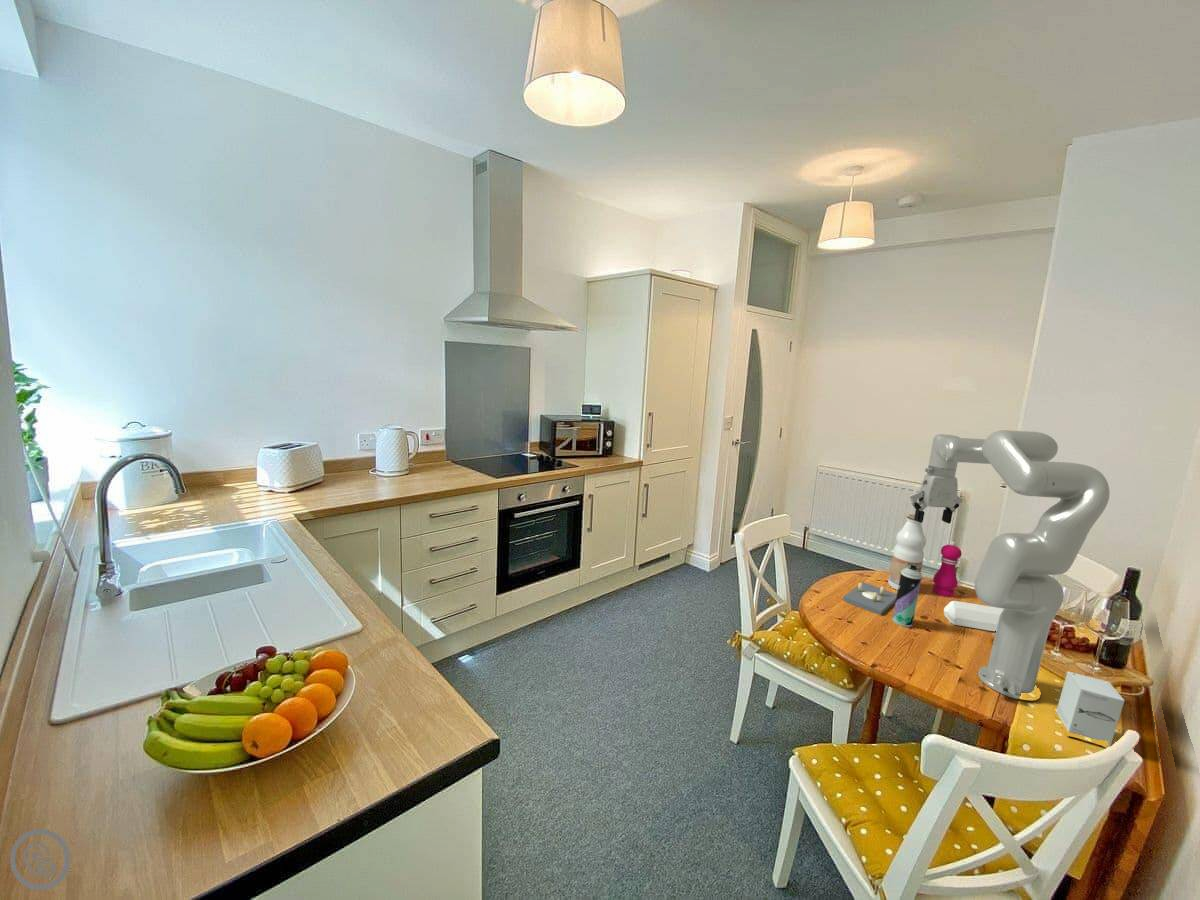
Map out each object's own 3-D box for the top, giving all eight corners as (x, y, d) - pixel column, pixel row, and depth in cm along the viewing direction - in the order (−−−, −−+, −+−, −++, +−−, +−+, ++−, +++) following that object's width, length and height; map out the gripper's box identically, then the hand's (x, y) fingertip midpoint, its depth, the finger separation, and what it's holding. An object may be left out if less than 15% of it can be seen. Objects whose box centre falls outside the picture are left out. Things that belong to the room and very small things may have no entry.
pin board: (880, 615, 156) (882, 602, 155) (842, 600, 164) (844, 588, 163) (898, 598, 168) (900, 586, 167) (862, 585, 176) (864, 574, 175)
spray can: (888, 619, 153) (899, 562, 149) (899, 616, 156) (909, 559, 152) (905, 628, 148) (916, 569, 144) (916, 625, 151) (927, 567, 147)
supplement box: (1066, 737, 107) (1079, 688, 104) (1053, 716, 113) (1066, 669, 111) (1110, 751, 103) (1126, 700, 101) (1095, 728, 110) (1109, 680, 107)
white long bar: (951, 617, 149) (1043, 632, 143) (945, 597, 155) (1034, 611, 148) (943, 629, 154) (1031, 644, 148) (937, 609, 159) (1023, 623, 153)
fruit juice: (887, 588, 175) (900, 516, 169) (887, 579, 183) (899, 510, 177) (917, 596, 170) (931, 522, 164) (916, 586, 178) (930, 515, 172)
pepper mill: (959, 598, 169) (970, 546, 165) (936, 596, 171) (947, 544, 167) (948, 589, 176) (959, 539, 172) (927, 586, 178) (937, 536, 174)
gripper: (924, 474, 151) (915, 525, 154) (975, 475, 152) (965, 526, 155) (908, 468, 158) (899, 517, 162) (957, 470, 159) (948, 518, 163)
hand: (932, 521), depth 158 cm, fingers open, 9 cm apart
